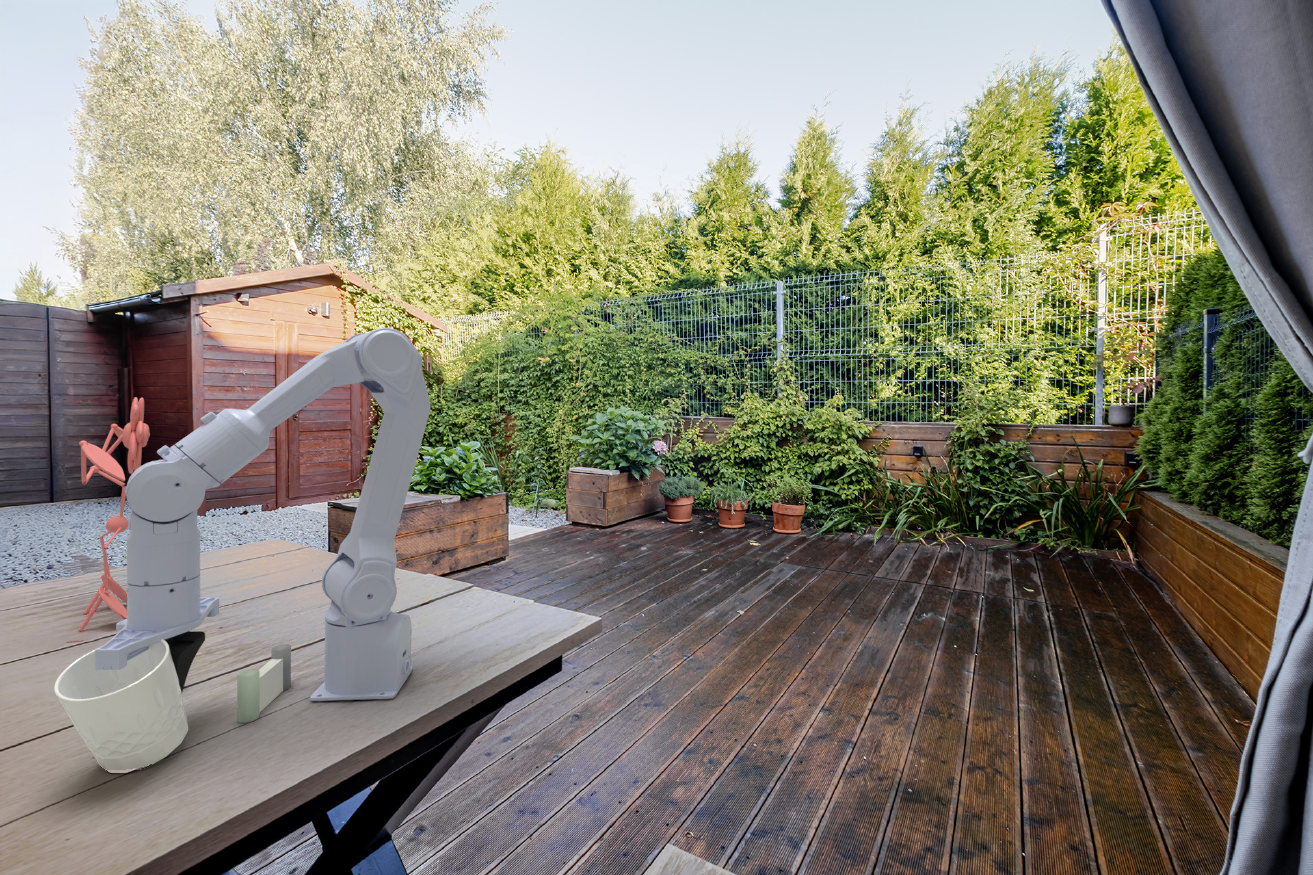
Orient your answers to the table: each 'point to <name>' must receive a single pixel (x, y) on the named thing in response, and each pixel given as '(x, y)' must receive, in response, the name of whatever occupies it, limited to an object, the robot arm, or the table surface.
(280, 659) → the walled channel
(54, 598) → the table surface
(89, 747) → the white cup
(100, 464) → the figurine
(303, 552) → the table surface
